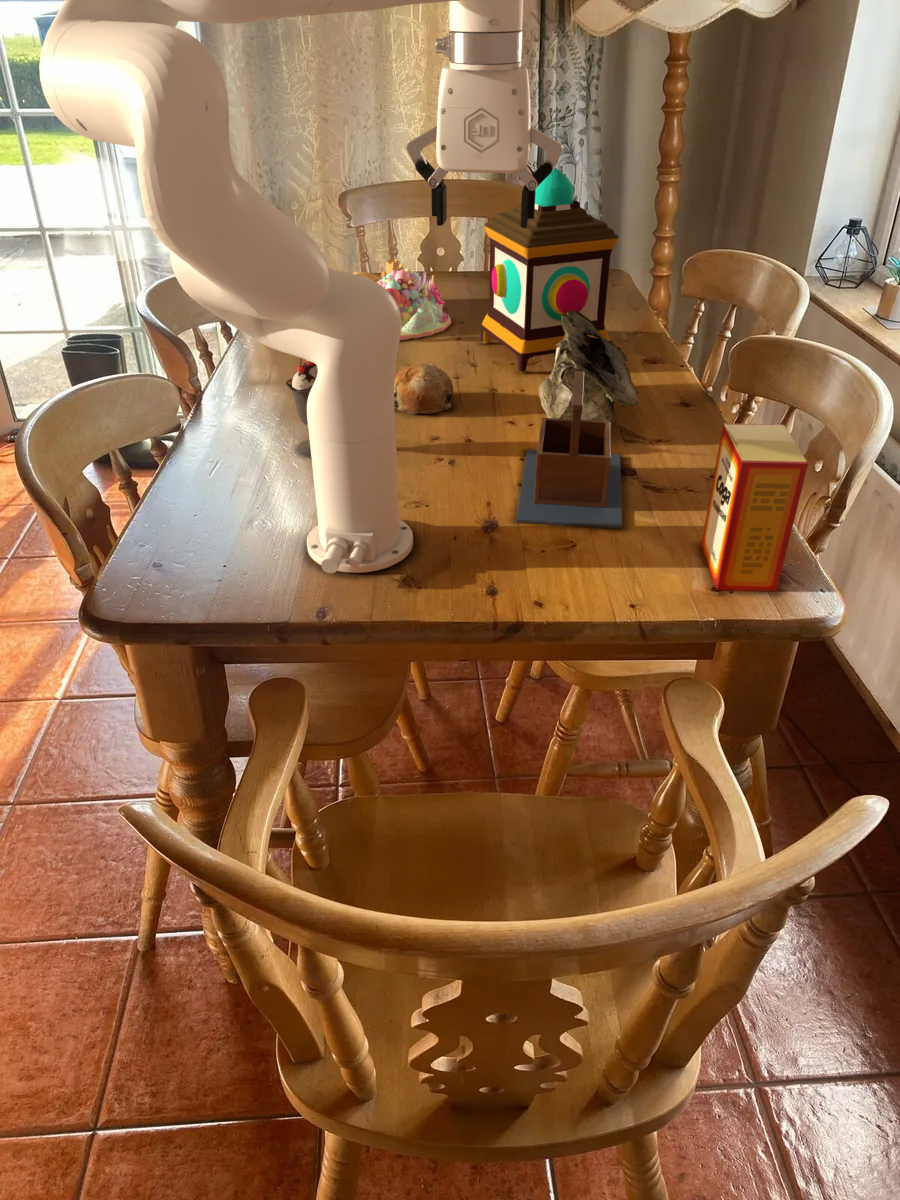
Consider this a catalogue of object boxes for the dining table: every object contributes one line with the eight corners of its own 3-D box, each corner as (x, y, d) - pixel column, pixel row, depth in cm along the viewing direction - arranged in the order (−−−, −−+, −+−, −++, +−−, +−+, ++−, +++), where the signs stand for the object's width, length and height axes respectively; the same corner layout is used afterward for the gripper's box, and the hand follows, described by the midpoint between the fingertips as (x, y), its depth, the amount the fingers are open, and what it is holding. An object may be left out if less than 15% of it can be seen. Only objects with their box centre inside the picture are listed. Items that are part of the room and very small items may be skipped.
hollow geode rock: (578, 403, 155) (520, 336, 151) (639, 355, 149) (580, 284, 145) (569, 472, 132) (500, 396, 128) (640, 419, 126) (570, 337, 121)
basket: (605, 508, 115) (616, 407, 107) (534, 503, 116) (539, 403, 108) (605, 468, 124) (615, 372, 116) (539, 464, 125) (544, 369, 117)
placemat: (621, 529, 112) (622, 526, 111) (516, 522, 113) (516, 519, 113) (619, 457, 128) (620, 454, 127) (527, 451, 129) (527, 449, 129)
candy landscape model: (307, 316, 179) (303, 268, 174) (399, 292, 192) (398, 246, 187) (387, 348, 164) (385, 296, 159) (481, 320, 177) (482, 271, 172)
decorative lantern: (620, 362, 158) (640, 174, 141) (516, 378, 152) (524, 184, 135) (566, 327, 173) (578, 154, 156) (470, 341, 167) (471, 162, 150)
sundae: (296, 462, 127) (285, 357, 118) (290, 442, 132) (279, 340, 124) (343, 456, 128) (335, 352, 120) (335, 436, 134) (327, 336, 125)
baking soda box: (701, 545, 108) (723, 420, 99) (756, 546, 108) (784, 421, 99) (717, 590, 101) (743, 459, 91) (776, 591, 100) (809, 460, 91)
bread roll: (434, 439, 141) (455, 396, 136) (374, 408, 140) (394, 364, 135) (446, 413, 149) (467, 373, 144) (391, 384, 148) (410, 342, 143)
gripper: (397, 54, 93) (403, 230, 103) (567, 55, 91) (556, 234, 101) (410, 48, 99) (414, 215, 109) (569, 49, 97) (559, 218, 107)
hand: (483, 224), depth 105 cm, fingers open, 9 cm apart
